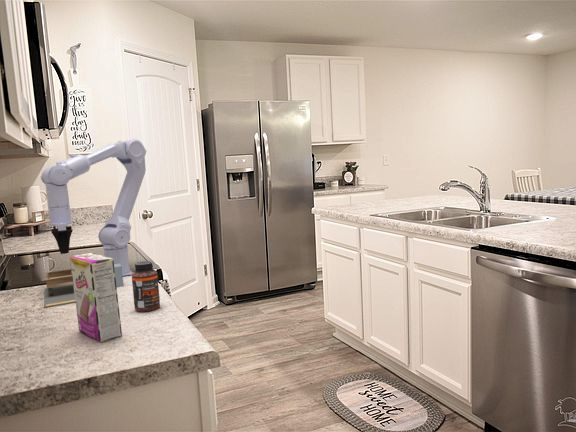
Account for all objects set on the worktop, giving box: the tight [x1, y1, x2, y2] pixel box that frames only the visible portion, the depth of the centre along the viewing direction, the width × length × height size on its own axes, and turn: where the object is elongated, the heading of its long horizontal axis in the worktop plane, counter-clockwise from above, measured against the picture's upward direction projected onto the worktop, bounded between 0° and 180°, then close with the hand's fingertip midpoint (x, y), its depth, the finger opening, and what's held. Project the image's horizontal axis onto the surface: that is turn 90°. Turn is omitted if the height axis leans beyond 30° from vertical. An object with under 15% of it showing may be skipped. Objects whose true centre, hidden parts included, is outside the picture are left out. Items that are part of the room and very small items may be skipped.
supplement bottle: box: [131, 260, 161, 313], centre depth 115 cm, size 6×6×11 cm
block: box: [114, 264, 125, 288], centre depth 141 cm, size 4×4×6 cm
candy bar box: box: [69, 252, 123, 343], centre depth 99 cm, size 11×5×16 cm, turn 44°
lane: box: [43, 284, 76, 309], centre depth 135 cm, size 22×13×1 cm, turn 27°
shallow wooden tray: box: [45, 268, 73, 296], centre depth 138 cm, size 11×11×5 cm
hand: (64, 252), depth 143 cm, fingers open, 4 cm apart
